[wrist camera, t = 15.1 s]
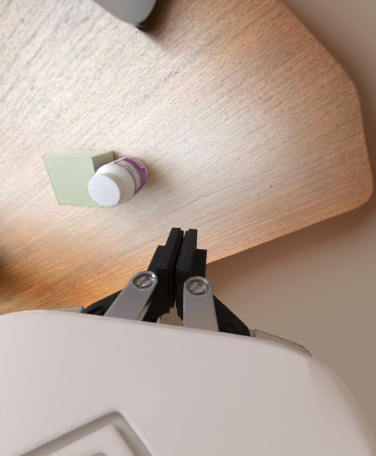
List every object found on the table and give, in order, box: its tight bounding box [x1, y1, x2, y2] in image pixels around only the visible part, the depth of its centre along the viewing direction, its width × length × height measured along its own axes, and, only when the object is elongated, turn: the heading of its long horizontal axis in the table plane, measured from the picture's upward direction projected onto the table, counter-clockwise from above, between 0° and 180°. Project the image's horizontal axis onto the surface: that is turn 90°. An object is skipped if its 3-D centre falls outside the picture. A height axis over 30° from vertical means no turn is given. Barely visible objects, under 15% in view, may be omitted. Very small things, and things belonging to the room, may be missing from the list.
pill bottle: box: [88, 156, 148, 207], centre depth 27 cm, size 5×5×10 cm
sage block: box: [42, 149, 114, 207], centre depth 29 cm, size 7×7×6 cm
